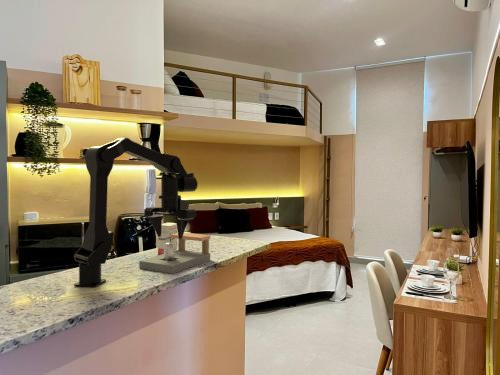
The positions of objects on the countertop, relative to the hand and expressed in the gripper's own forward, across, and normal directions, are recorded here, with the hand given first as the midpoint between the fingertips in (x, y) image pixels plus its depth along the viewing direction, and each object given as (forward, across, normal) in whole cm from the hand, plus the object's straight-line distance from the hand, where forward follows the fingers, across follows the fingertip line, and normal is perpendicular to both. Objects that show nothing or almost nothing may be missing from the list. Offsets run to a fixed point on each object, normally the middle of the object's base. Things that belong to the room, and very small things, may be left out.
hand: (169, 237), depth 129 cm
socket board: (+10, 0, -4) cm, 11 cm away
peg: (+10, 0, 0) cm, 10 cm away
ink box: (+10, +15, -16) cm, 24 cm away
